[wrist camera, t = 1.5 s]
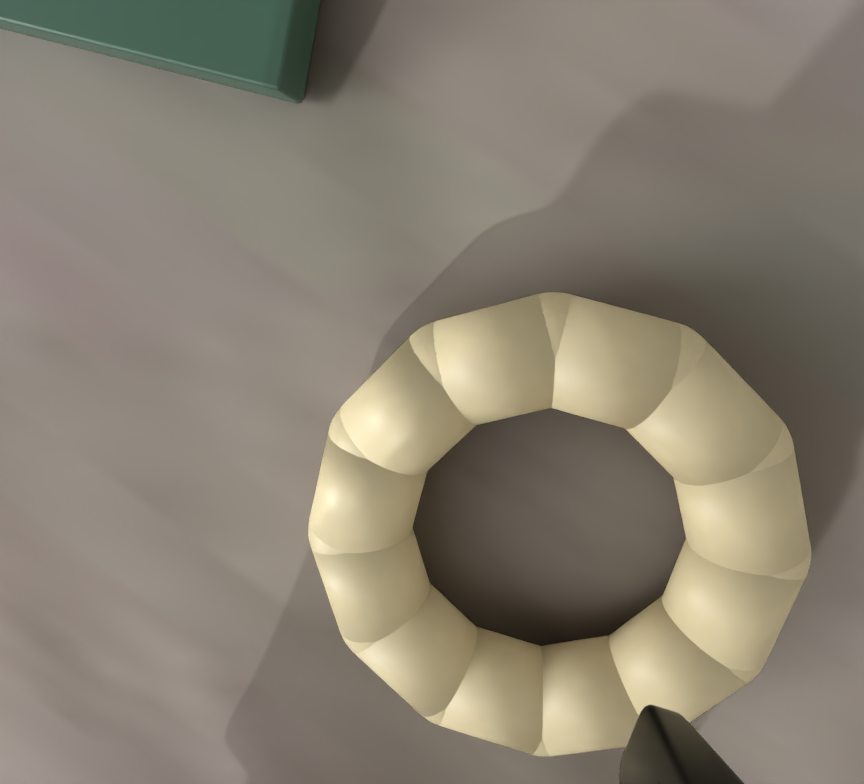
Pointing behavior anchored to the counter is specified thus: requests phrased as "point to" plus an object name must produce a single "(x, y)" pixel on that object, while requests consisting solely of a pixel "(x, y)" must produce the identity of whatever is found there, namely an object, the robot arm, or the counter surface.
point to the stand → (185, 36)
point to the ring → (595, 399)
